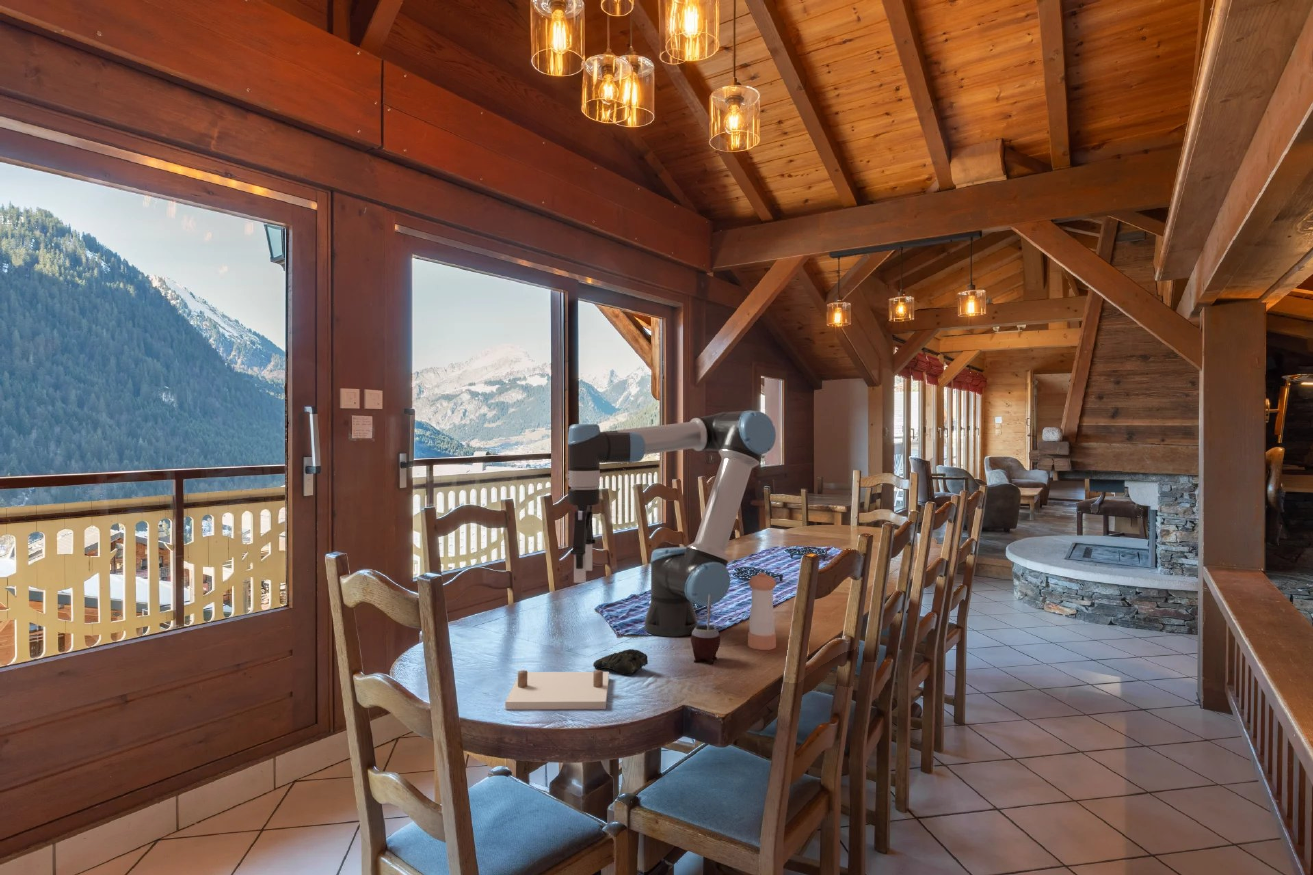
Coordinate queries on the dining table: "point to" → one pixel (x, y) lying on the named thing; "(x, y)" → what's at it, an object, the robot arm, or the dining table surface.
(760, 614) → the pepper shaker
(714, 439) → the robot arm
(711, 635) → the mate gourd
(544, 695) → the board
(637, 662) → the stone
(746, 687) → the dining table surface
